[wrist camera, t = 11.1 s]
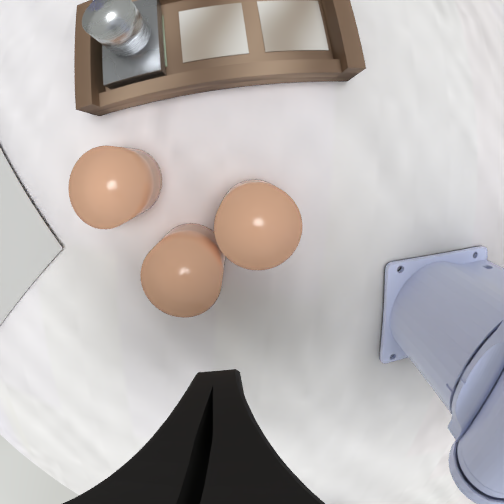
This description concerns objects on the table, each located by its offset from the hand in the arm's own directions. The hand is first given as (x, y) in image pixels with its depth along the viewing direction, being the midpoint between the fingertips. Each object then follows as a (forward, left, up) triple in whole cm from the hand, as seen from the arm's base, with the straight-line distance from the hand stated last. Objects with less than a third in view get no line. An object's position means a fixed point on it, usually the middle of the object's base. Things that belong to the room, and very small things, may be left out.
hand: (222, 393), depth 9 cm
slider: (+3, -15, -8) cm, 18 cm away
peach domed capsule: (-2, -4, -10) cm, 11 cm away
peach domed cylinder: (+5, -7, -10) cm, 13 cm away
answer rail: (-1, -15, -10) cm, 18 cm away
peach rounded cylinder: (+2, -2, -10) cm, 10 cm away
